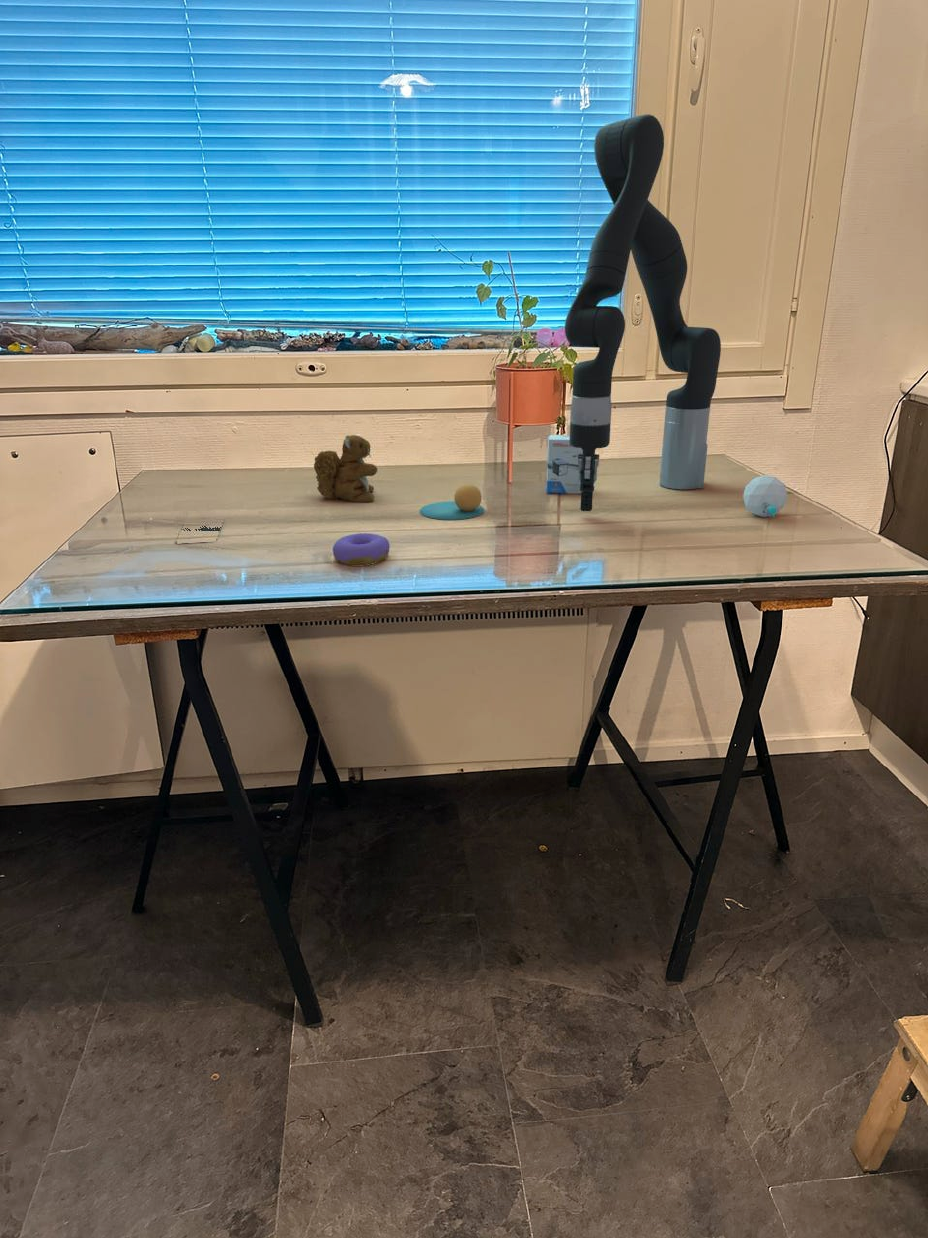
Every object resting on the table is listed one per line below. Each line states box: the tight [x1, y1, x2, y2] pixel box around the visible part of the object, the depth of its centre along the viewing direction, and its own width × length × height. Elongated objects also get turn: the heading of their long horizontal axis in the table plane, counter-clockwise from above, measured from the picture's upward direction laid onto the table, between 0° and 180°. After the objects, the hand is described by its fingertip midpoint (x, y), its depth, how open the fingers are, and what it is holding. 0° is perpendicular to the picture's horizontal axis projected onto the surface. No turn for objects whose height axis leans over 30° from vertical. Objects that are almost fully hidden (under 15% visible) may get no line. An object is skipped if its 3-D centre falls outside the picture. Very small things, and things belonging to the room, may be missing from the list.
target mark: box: [419, 500, 485, 521], centre depth 165 cm, size 13×13×1 cm
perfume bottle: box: [743, 474, 788, 519], centre depth 156 cm, size 8×8×12 cm
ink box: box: [545, 434, 583, 495], centre depth 176 cm, size 9×5×12 cm, turn 84°
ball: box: [453, 483, 483, 512], centre depth 163 cm, size 6×6×6 cm
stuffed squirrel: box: [313, 434, 378, 503], centre depth 174 cm, size 10×14×13 cm
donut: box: [332, 532, 391, 566], centre depth 138 cm, size 10×9×5 cm
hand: (586, 509), depth 159 cm, fingers closed
